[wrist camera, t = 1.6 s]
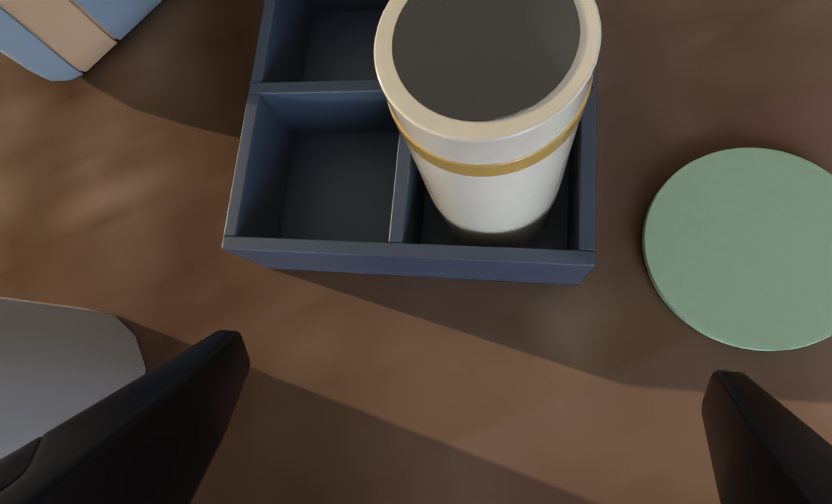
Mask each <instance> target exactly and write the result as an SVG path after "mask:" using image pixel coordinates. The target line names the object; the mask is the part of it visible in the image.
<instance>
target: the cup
mask: <svg viewBox="0 0 832 504" xmlns="http://www.w3.org/2000/svg"><path fill="white" fill-rule="evenodd" d="M145 370H146V368H145V365H144V362H143V358H142V355H141V352H140V349H139V346H138V343H137V339H136V336H135V335H134V334H133V333H132V332H131V331H130V330H129V329H128V328H127V327H126V326H125V325H124V324H123V323H122V322H121V321H120V320H119V319H118V318H117V317H116V316H114V315H113V314H109V313H104V312H100V311H95V310H91V309H86V308H79V307H72V306H65V305H57V304H50V303H42V302H35V301H28V300H20V299H13V298H6V297H0V459H2V458H3V457H5V456H7V455H9V454H10V453H12V452H14V451H16V450H17V449H19V448H21V447H22V446H24V445H26V444H27V443H29V442H31V441H32V440H34V439H36V438H37V437H42V436H43V435H44V434H45V433H46V432H48V431H50V430H51V429H53V428H55V427H56V426H58V425H60V424H61V423H63V422H65V421H66V420H68V419H70V418H71V417H73V416H75V415H77V414H78V413H80V412H82V411H83V410H85V409H87V408H88V407H90V406H92V405H93V404H95V403H97V402H98V401H100V400H102V399H104V398H105V397H107V396H109V395H110V394H112V393H114V392H115V391H117V390H119V389H120V388H122V387H124V386H125V385H127V384H129V383H131V382H132V381H134V380H136V379H137V378H139V377H141V376H142V375H144V374H145Z"/></svg>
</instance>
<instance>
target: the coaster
mask: <svg viewBox="0 0 832 504" xmlns="http://www.w3.org/2000/svg"><path fill="white" fill-rule="evenodd" d="M642 250H643V256H644V261H645V266H646V269H647V271H648V274H649V277H650V279H651V281H652V283H653V285H654V287H655V289H656V291H657V292H658V293H659V295H660V296H661V298H662V299H663V301H664V302H665V303H666V304H667V305H668V307H669V308H670V309H671V310H672V311H673V312H674V313H675V314H676V315H677V316H678V317H679V318H681V319H682V320H683V321H684V322H685V323H687V324H688V325H690V326H691V327H692V328H694V329H695V330H697V331H698V332H700V333H702V334H704V335H706V336H708V337H709V338H712V339H714V340H717V341H719V342H722V343H724V344H727V345H731V346H735V347H738V348H743V349H750V350H758V351H778V350H791V349H795V348H800V347H805V346H808V345H811V344H814V343H817V342H819V341H822V340H824V339H826V338H828V337H829V336H831V335H832V175H831V174H830V173H828V172H827V171H825V170H824V169H822V168H821V167H819V166H817V165H815V164H813V163H812V162H810V161H807V160H805V159H803V158H800V157H798V156H795V155H792V154H789V153H785V152H782V151H777V150H772V149H766V148H753V147H752V148H734V149H727V150H722V151H718V152H714V153H710V154H708V155H705V156H703V157H700V158H698V159H696V160H694V161H692V162H690V163H688V164H687V165H685V166H684V167H682V168H681V169H679V170H678V171H677V172H675V173H674V174H673V175H672V176H671V177H670V178H669V179H668V180H667V181H666V182H665V183H664V184H663V186H662V187H661V188H660V190H659V191H658V192H657V193H656V195H655V197H654V198H653V200H652V202H651V204H650V206H649V209H648V211H647V214H646V217H645V221H644V225H643V233H642Z"/></svg>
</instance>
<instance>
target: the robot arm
mask: <svg viewBox="0 0 832 504" xmlns="http://www.w3.org/2000/svg"><path fill="white" fill-rule="evenodd" d="M249 368H250V360H249V356H248V353H247V350H246V347H245V344H244V341H243V339H242V336H241V334H240V333H239V332H237V331H230V330H219V331H217V332H215V333H213V334H212V335H210V336H208V337H206V338H205V339H203V340H201V341H200V342H198V343H196V344H195V345H193V346H191V347H190V348H188V349H186V350H185V351H183V352H181V353H179V354H178V355H176V356H174V357H173V358H171V359H169V360H168V361H166V362H164V363H163V364H161V365H159V366H158V367H156V368H154V369H152V370H151V371H149V372H147V373H146V374H144V375H142V376H141V377H139V378H137V379H136V380H134V381H132V382H131V383H129V384H127V385H125V386H124V387H122V388H120V389H119V390H117V391H115V392H114V393H112V394H110V395H109V396H107V397H105V398H104V399H102V400H100V401H98V402H97V403H95V404H93V405H92V406H90V407H88V408H87V409H85V410H83V411H82V412H80V413H78V414H77V415H75V416H73V417H71V418H70V419H68V420H66V421H65V422H63V423H61V424H60V425H58V426H56V427H55V428H53V429H51V430H50V431H48V432H46V433H45V434H44V435H43V436H42V437H37V438H36V439H34V440H32V441H31V442H29V443H27V444H26V445H24V446H22V447H21V448H19V449H17V450H16V451H14V452H12V453H10V454H9V455H7V456H5V457H3V458H2V459H0V504H190V503H191V501H192V499H193V497H194V495H195V493H196V491H197V489H198V487H199V485H200V483H201V481H202V479H203V477H204V475H205V473H206V471H207V469H208V467H209V465H210V463H211V461H212V459H213V457H214V455H215V453H216V451H217V449H218V447H219V445H220V443H221V441H222V439H223V436H224V434H225V432H226V429H227V427H228V424H229V422H230V419H231V416H232V414H233V411H234V409H235V406H236V403H237V401H238V398H239V395H240V393H241V390H242V388H243V385H244V382H245V380H246V377H247V375H248V372H249ZM702 417H703V421H704V426H705V431H706V436H707V441H708V446H709V451H710V456H711V461H712V465H713V470H714V475H715V480H716V485H717V489H718V494H719V498H720V502H721V504H832V446H831V445H830V444H829V443H828V442H827V441H825V440H824V439H823V438H822V437H821V436H819V435H818V434H817V433H816V432H815V431H813V430H812V429H811V428H810V427H809V426H807V425H806V424H805V423H804V422H803V421H801V420H800V419H799V418H798V417H797V416H795V415H794V414H793V413H792V412H791V411H789V410H788V409H787V408H786V407H785V406H783V405H782V404H781V403H780V402H778V401H777V400H776V399H775V398H774V397H772V396H771V395H770V394H769V393H768V392H766V391H765V390H764V389H763V388H762V387H760V386H759V385H758V384H757V383H756V382H754V381H753V380H752V379H751V378H750V377H748V376H747V375H746V374H744V373H743V372H740V371H731V370H716V371H714V372H713V374H712V376H711V379H710V381H709V384H708V387H707V390H706V393H705V396H704V399H703V402H702Z"/></svg>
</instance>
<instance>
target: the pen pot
mask: <svg viewBox="0 0 832 504" xmlns="http://www.w3.org/2000/svg"><path fill="white" fill-rule="evenodd" d="M601 37H602V33H601V20H600V15H599V10H598V7H597V5H596V2H595V0H390V1H389V2H388V4H387V6H386V8H385V9H384V11H383V13H382V16H381V18H380V21H379V24H378V27H377V31H376V36H375V41H374V65H375V69H376V74H377V78H378V81H379V83H380V86H381V88H382V91H383V93H384V95H385V97H386V99H387V103H388V107H389V109H390V112H391V115H392V117H393V119H394V121H395V124H396V126H397V128H398V130H399V131H400V133H401V135H402V137H403V138H404V140H405V141H406V144H407V146H408V148H409V150H410V153H411V155H412V157H413V159H414V161H415V164H416V166H417V168H418V170H419V172H420V175H421V177H422V179H423V181H424V184H425V186H426V188H427V190H428V192H429V195H430V197H431V199H432V201H433V203H434V206H435V208H436V210H437V212H438V215H439V217H440V219H441V221H442V223H443V225H444V227H445V228H446V230H447V231H448V232H449V234H450V235H451V236H452V237H453V238H454V239H455V240H457V241H458V242H459V243H461V244H462V245H464V246H482V247H506V248H521V247H523V246H525V245H527V244H528V243H530V242H531V241H533V240H534V239H535V238H536V237H537V236H538V235H539V234H540V233H541V232H542V231H543V229H544V228H545V227H546V225H547V223H548V222H549V220H550V217H551V215H552V212H553V209H554V205H555V202H556V198H557V195H558V192H559V188H560V185H561V181H562V178H563V175H564V171H565V168H566V165H567V161H568V158H569V154H570V151H571V148H572V144H573V141H574V137H575V134H576V131H577V127H578V124H579V121H580V119H581V117H582V114H583V112H584V110H585V107H586V104H587V100H588V97H589V93H590V90H591V86H592V82H593V73H594V70H595V66H596V63H597V59H598V56H599V52H600V46H601Z"/></svg>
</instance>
